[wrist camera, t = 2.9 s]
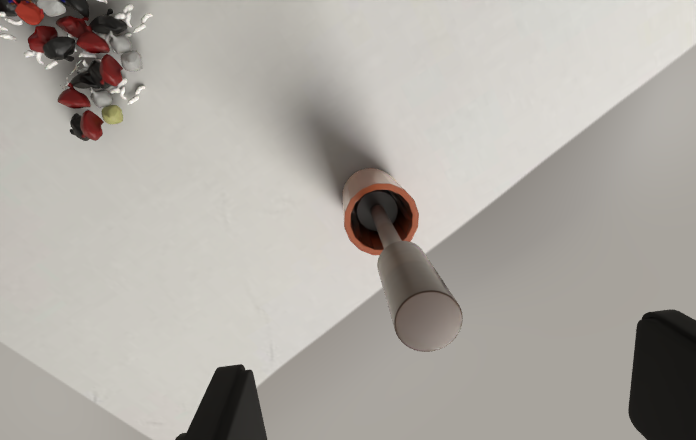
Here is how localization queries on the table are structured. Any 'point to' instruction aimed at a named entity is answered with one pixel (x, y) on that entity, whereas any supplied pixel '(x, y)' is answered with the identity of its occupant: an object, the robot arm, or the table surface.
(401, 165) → the table surface
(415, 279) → the brush
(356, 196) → the holder
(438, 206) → the table surface
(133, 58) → the toy collection
